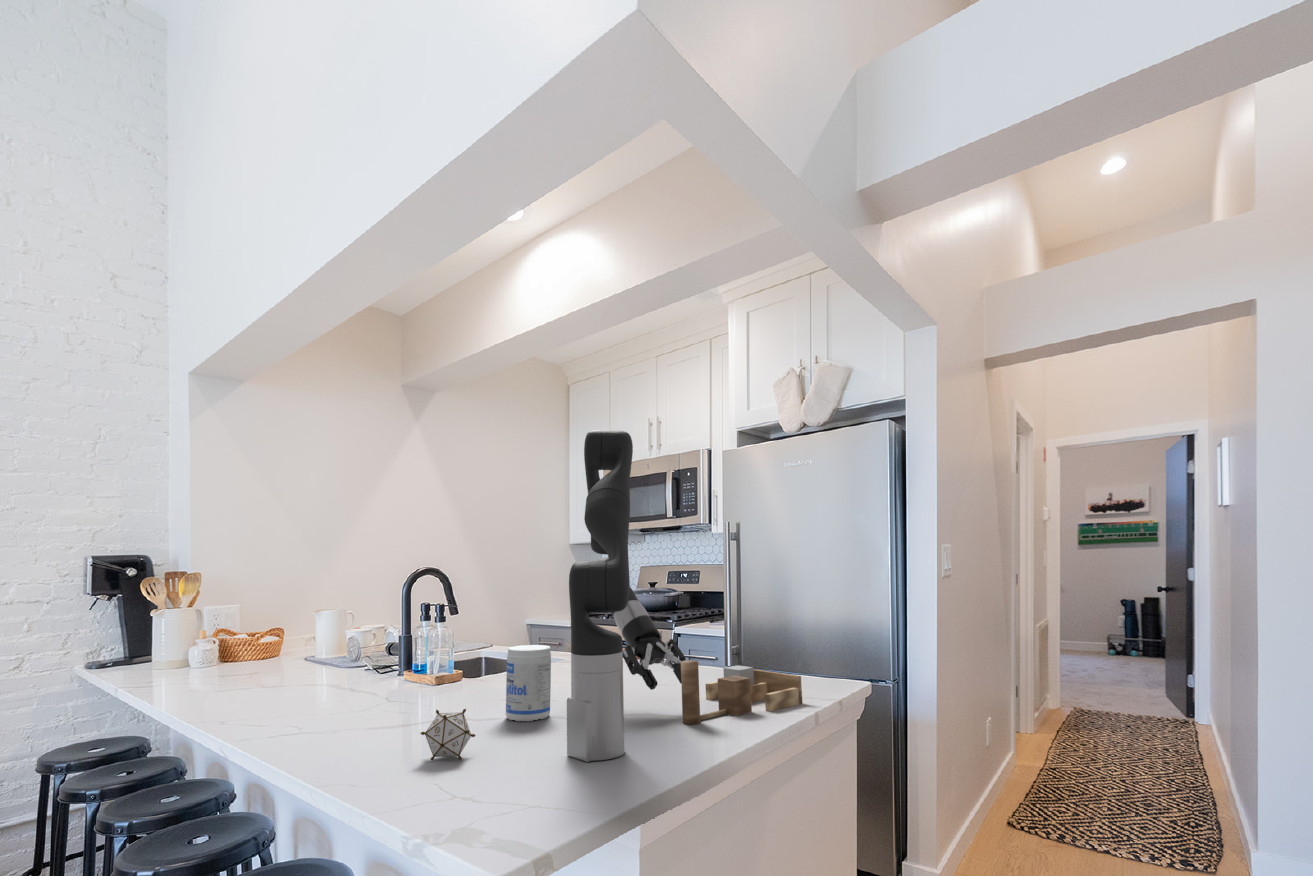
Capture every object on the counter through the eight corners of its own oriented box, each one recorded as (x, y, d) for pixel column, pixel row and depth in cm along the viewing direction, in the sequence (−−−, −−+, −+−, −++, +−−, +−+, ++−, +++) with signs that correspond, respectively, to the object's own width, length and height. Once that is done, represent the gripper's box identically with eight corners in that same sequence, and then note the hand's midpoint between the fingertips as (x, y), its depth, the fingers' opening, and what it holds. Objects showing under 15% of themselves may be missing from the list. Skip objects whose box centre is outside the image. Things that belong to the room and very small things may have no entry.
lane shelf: (769, 711, 152) (768, 682, 153) (706, 699, 166) (705, 672, 167) (802, 703, 159) (800, 675, 160) (738, 692, 173) (737, 666, 174)
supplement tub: (497, 721, 150) (497, 649, 152) (520, 711, 158) (520, 644, 161) (537, 724, 146) (537, 650, 149) (558, 713, 155) (558, 644, 157)
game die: (456, 778, 124) (490, 725, 128) (445, 773, 117) (481, 717, 121) (416, 750, 126) (451, 699, 130) (402, 744, 119) (440, 690, 123)
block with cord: (693, 726, 141) (691, 664, 143) (676, 722, 145) (674, 661, 146) (751, 712, 152) (749, 654, 154) (734, 708, 156) (732, 652, 158)
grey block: (740, 701, 163) (738, 670, 164) (724, 698, 166) (723, 668, 168) (754, 698, 166) (753, 667, 167) (739, 695, 170) (737, 665, 171)
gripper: (617, 616, 155) (652, 677, 144) (666, 611, 164) (702, 668, 153) (603, 639, 158) (636, 700, 147) (652, 633, 167) (686, 690, 157)
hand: (670, 684), depth 150 cm, fingers open, 8 cm apart
